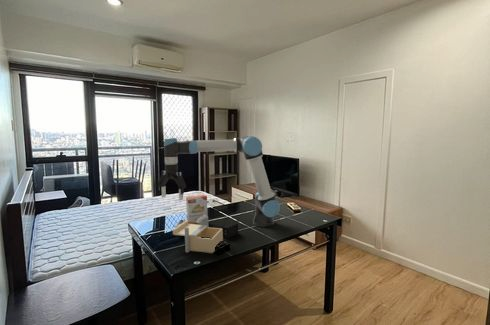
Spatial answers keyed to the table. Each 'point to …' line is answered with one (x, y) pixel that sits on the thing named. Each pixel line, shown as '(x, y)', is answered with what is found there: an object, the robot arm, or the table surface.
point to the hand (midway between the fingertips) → (172, 198)
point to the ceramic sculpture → (180, 222)
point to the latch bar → (201, 218)
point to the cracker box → (196, 208)
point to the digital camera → (230, 230)
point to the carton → (203, 239)
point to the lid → (193, 229)
